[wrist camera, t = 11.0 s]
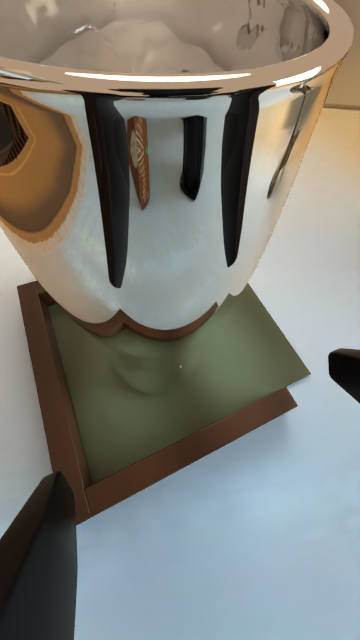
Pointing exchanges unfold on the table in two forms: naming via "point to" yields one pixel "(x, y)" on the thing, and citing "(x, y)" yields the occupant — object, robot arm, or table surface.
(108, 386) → the dock
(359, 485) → the table surface
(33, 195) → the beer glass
